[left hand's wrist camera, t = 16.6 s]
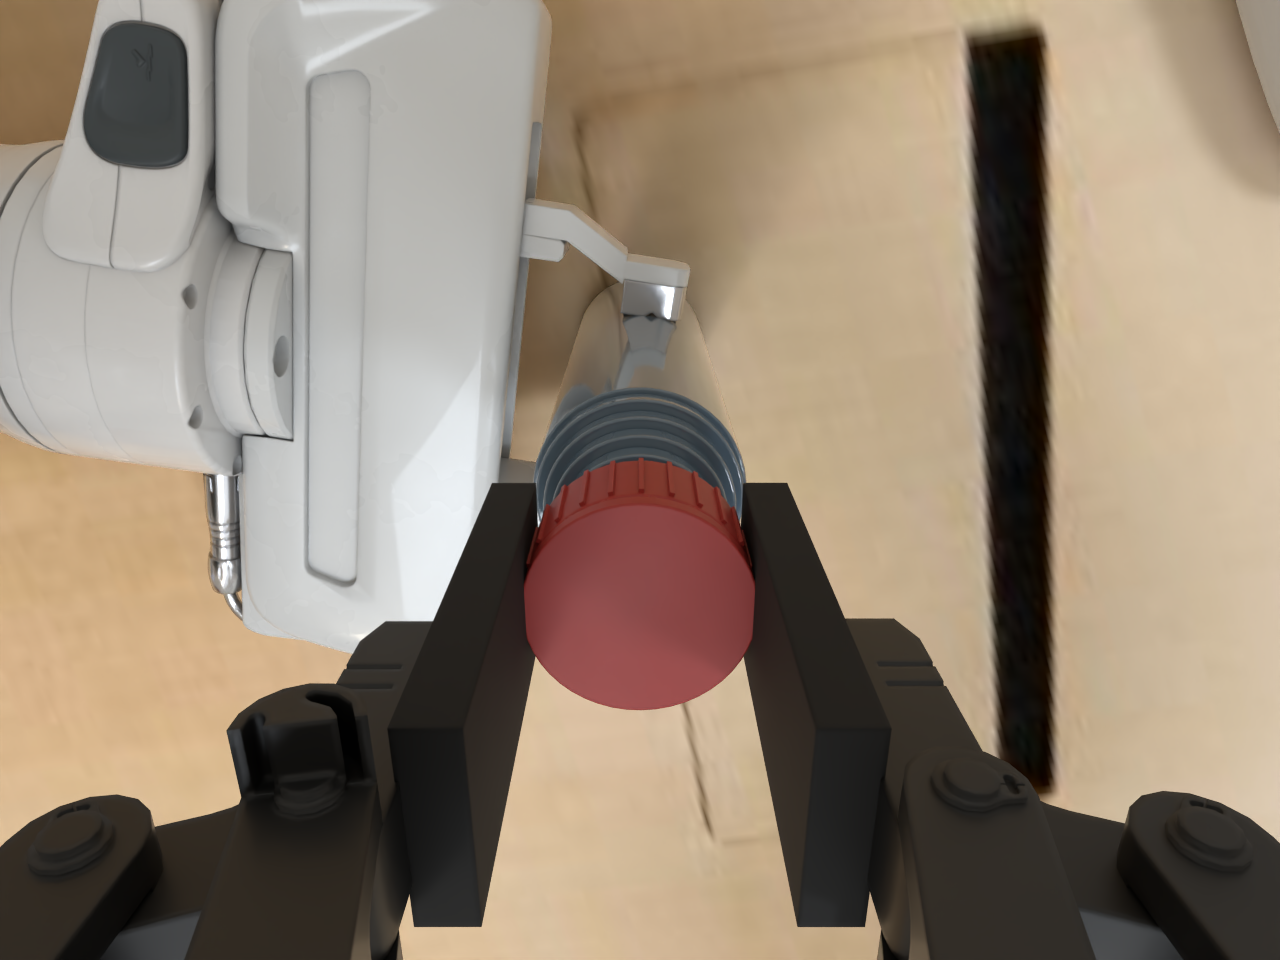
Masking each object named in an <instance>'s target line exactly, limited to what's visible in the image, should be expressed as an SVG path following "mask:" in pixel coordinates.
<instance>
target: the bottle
mask: <svg viewBox="0 0 1280 960" xmlns="http://www.w3.org/2000/svg"><path fill="white" fill-rule="evenodd" d="M623 286H624V281H623V284H621V283H620V282H618V283H616V284H613V285H611V286H609V287H608V288H606V289H605V290H603V291H602V292H601V293H600V294H598V295H597V296H596V297H595V299H594V300H593V301H592V302H591V303H590V305H589V306H588V308H587V310H586V312H585V313H584V316H583V318H582V321H581V324H580V327H579V330H578V333H577V337H576V340H575V343H574V346H573V349H572V352H571V355H570V358H569V361H568V365H567V368H566V371H565V374H564V377H563V380H562V383H561V386H560V390H559V393H558V396H557V399H556V402H555V405H554V408H553V411H552V414H551V418H550V421H549V424H548V427H547V430H546V433H545V436H544V439H543V442H542V446H541V449H540V452H539V455H538V458H537V461H536V466H535V471H534V481H533V483H536V494H537V513H538V517H539V521H540V522H541V519H542V515H543V511H544V507H545V506H546V504H548V505H550V504H551V503H552V501H553V500H554V499H555V498H556V497H557V496H558V495H559V494H560V492H561V487H562V486H563V485H566V486H568V485H569V484H571V483H572V482H573V481H575V480H576V479H578V478H580V477H581V476H583V474H584V471H586V470H589V472H591V471H593V470H595V469H597V468H600V467H603V466H606V465H609V464H610V461H614V460H615V462H616V463H619V462H625V461H639V458H644V461H654V462H660V463H667V461H669V462H672V465H673V466H676V467H679V468H682V469H684V470H687V471H689V472H691V473H693V471H695V472H697V473H698V477H700V478H701V479H703V480H705V481H706V482H707V483H708V484H710V485H711V486H712V487H713V488H715V487H716V486H717V487H718V488H719V489H720V492H721V496H722V497H723V498H724V499H725V500H726V501H727V503H728V504H729V506H730V507H733V506H734V507H735V508H736V511H737V515H738V519H739V522H740V519H741V515H742V495H743V483H746V475H745V468H744V464H743V460H742V456H741V453H740V450H739V447H738V444H737V441H736V438H735V435H734V431H733V428H732V425H731V422H730V419H729V416H728V413H727V410H726V406H725V403H724V400H723V397H722V394H721V391H720V388H719V385H718V381H717V378H716V375H715V372H714V369H713V366H712V363H711V360H710V356H709V353H708V350H707V347H706V344H705V341H704V338H703V335H702V331H701V328H700V325H699V322H698V319H697V317H696V314H695V312H694V310H693V309H692V307H691V305H690V304H689V303H688V301H687V300H686V299H685V303H684V308H683V313H682V319H681V320H680V321H668V320H664V319H660V318H657V317H656V316H655V315H654V314H653V313H650V314H648V315H646V316H635V315H628V314H622V313H620V311H621V302H622V294H623Z"/></svg>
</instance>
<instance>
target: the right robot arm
mask: <svg viewBox="0 0 1280 960" xmlns="http://www.w3.org/2000/svg"><path fill="white" fill-rule="evenodd" d="M551 37H552V19H551V15H550V13H549V11H548V9H547V8H546V6H545V4H544V2H543V1H542V0H99V1H98V5H97V9H96V13H95V18H94V22H93V27H92V31H91V36H90V41H89V45H88V50H87V54H86V59H85V63H84V67H83V72H82V76H81V80H80V84H79V88H78V92H77V97H76V101H75V104H74V108H73V112H72V116H71V119H70V123H69V127H68V130H67V134H66V137H65V140H53V141H44V142H37V143H31V144H24V145H6V144H0V433H4V434H6V435H8V436H10V437H12V438H14V439H16V440H19V441H21V442H24V443H26V444H29V445H31V446H34V447H37V448H40V449H42V450H46V451H50V452H55V453H61V454H68V455H73V456H81V457H88V458H95V459H103V460H110V461H118V462H125V463H132V464H140V465H147V466H156V467H163V468H171V469H178V470H185V471H192V472H199V473H203V475H204V491H205V508H206V517H207V522H208V526H209V532H210V540H211V542H210V545H211V551H210V552H209V555H208V573H209V578H210V582H211V585H212V588H213V590H214V591H215V592H217V593H219V594H223V595H224V597H225V600H226V602H227V604H228V606H229V607H230V609H231V610H232V611H233V613H234V614H235V615H236V616H237V617H238V618H239V619H240V620H241V621H243V624H244V625H245V627H246V628H247V629H249V630H251V631H253V632H256V633H259V634H262V635H266V636H274V637H281V638H289V639H297V640H305V641H308V642H311V643H314V644H318V645H321V646H324V647H328V648H331V649H335V650H338V651H342V652H346V653H350V654H353V653H354V651H355V649H356V647H357V645H358V644H359V642H360V641H361V640H362V639H363V638H365V637H366V636H367V635H368V634H370V633H371V632H372V631H374V630H375V629H376V628H377V627H379V626H380V625H381V624H383V623H384V622H385V621H433V620H434V618H435V615H436V613H437V611H438V608H439V606H440V604H441V601H442V599H443V597H444V594H445V592H446V589H447V587H448V585H449V582H450V580H451V578H452V575H453V573H454V571H455V568H456V566H457V564H458V561H459V559H460V557H461V554H462V552H463V550H464V547H465V545H466V543H467V540H468V538H469V536H470V533H471V531H472V529H473V526H474V524H475V522H476V519H477V517H478V515H479V512H480V510H481V508H482V505H483V503H484V500H485V498H486V496H487V493H488V491H489V489H490V486H491V484H492V483H533V481H534V471H535V466H536V462H530V461H523V460H516V459H510V454H511V444H512V433H513V423H514V413H515V403H516V393H517V383H518V372H519V362H520V352H521V342H522V332H523V322H524V312H525V301H526V291H527V281H528V271H529V261H530V258H534V259H541V260H548V261H555V262H559V261H560V260H561V259H562V258H563V257H564V256H565V254H566V253H567V251H568V250H569V244H571V245H573V246H574V247H575V248H576V249H578V250H579V251H580V252H582V253H583V254H584V255H585V256H587V257H588V258H589V259H591V260H592V261H593V262H594V263H596V264H597V265H598V266H600V267H601V268H602V269H603V270H605V271H606V272H607V273H609V274H610V275H611V276H612V277H614V278H615V279H616V280H618V281H619V282H620V283H621V284H623V281H624V286H623V294H622V302H621V311H620V313H622V314H628V315H635V316H646V315H648V314H650V313H653V314H654V315H655V316H656V317H657V318H660V319H664V320H668V321H680V320H681V319H682V313H683V308H684V303H685V297H686V292H687V285H688V280H689V274H690V267H689V264H687V263H684V262H680V261H677V260H670V259H664V258H658V257H651V256H645V255H638V254H632V253H628V248H627V247H626V246H624V245H623V244H622V243H621V242H620V241H618V240H617V239H616V238H615V237H613V236H612V235H611V234H610V233H609V232H607V231H606V230H605V229H604V228H602V227H601V226H600V225H599V224H598V223H596V222H595V221H594V220H593V219H591V218H590V217H589V216H588V215H587V214H585V213H584V212H583V211H582V210H580V209H579V208H578V207H577V206H576V205H573V204H566V203H560V202H553V201H547V200H541V199H536V190H537V180H538V169H539V159H540V149H541V139H542V129H543V119H544V109H545V98H546V88H547V78H548V68H549V58H550V47H551ZM537 514H538V513H537ZM539 525H540V521H539V517H538V527H539ZM241 590H242V601H241V600H240V598H239V596H238V593H237V592H239V591H241Z"/></svg>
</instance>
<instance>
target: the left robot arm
mask: <svg viewBox="0 0 1280 960" xmlns="http://www.w3.org/2000/svg"><path fill="white" fill-rule="evenodd" d="M536 527H538V514H537V494H536V483H492V484H491V486H490V489H489V491H488V493H487V496H486V498H485V500H484V503H483V505H482V508H481V510H480V512H479V515H478V517H477V519H476V522H475V524H474V526H473V529H472V531H471V533H470V536H469V538H468V540H467V543H466V545H465V547H464V550H463V552H462V554H461V557H460V559H459V561H458V564H457V566H456V568H455V571H454V573H453V575H452V578H451V580H450V582H449V585H448V587H447V589H446V592H445V594H444V597H443V599H442V601H441V604H440V606H439V608H438V611H437V613H436V615H435V618H434V620H433V621H385V622H384V623H383V624H381V625H380V626H379V627H377V628H376V629H375V630H374V631H372V632H371V633H370V634H368V635H367V636H366V637H365V638H363V639H362V640H361V641H360V642H359V644H358V645H357V647H356V649H355V651H354V653H353V654H352V656H351V658H350V660H349V662H348V663H347V669H344V671H343V672H342V674H341V676H340V678H339V680H338V681H337V683H336V684H311V683H310V684H305V685H300V686H295V687H290V688H285V689H282V690H280V691H277V692H275V693H273V694H270V695H268V696H266V697H263V698H261V699H259V700H257V701H256V702H254V703H253V704H252V705H250V706H249V707H247V708H246V709H245V710H243V711H242V712H241V713H239V714H238V715H237V717H236V718H235V720H234V721H233V722H232V724H231V725H230V726H229V728H228V729H227V735H228V739H229V744H230V748H231V753H232V757H233V762H234V766H235V771H236V775H237V780H238V784H239V789H240V793H241V800H240V803H239V804H238V805H236V806H234V807H232V808H229V809H225V810H222V811H219V812H216V813H212V814H209V815H204V816H200V817H196V818H191V819H187V820H183V821H178V822H174V823H170V824H165V825H161V826H157V827H155V826H154V823H153V819H152V815H151V812H150V810H149V809H148V808H147V807H146V806H145V805H144V804H143V803H142V802H141V801H139V800H138V799H135V798H130V797H126V796H121V795H107V796H96V797H88V798H85V799H82V800H79V801H76V802H72V803H69V804H66V805H63V806H60V807H58V808H56V809H54V810H52V811H50V812H48V813H46V814H44V815H42V816H41V817H39V818H37V819H35V820H33V821H31V822H30V823H28V824H27V825H26V826H25V827H23V828H22V829H21V830H20V831H18V832H17V833H16V834H15V835H13V836H12V837H11V838H10V839H8V840H7V841H6V842H5V843H4V844H3V845H2V846H1V847H0V960H403V956H402V949H401V942H400V936H399V927H400V923H401V920H402V917H403V914H404V910H405V907H406V904H407V900H408V897H409V894H410V900H411V908H412V915H413V922H414V927H482V922H483V917H484V912H485V907H486V902H487V897H488V892H489V887H490V882H491V877H492V871H493V866H494V861H495V856H496V851H497V846H498V841H499V836H500V831H501V826H502V821H503V816H504V811H505V806H506V801H507V796H508V791H509V786H510V781H511V776H512V771H513V766H514V761H515V756H516V751H517V746H518V741H519V736H520V731H521V726H522V721H523V716H524V711H525V706H526V701H527V696H528V691H529V686H530V681H531V676H532V671H533V666H534V661H535V654H534V653H533V651H532V649H531V647H530V645H529V642H528V640H527V633H526V617H525V600H524V581H525V577H526V574H527V569H528V568H527V559H528V555H529V552H530V548H531V544H532V540H533V537H534V533H535V529H536ZM741 530H743V532H744V536H745V540H746V544H747V548H748V552H749V555H750V559H751V563H752V572H753V575H754V579H755V599H754V616H753V633H752V641H751V643H750V645H749V648H748V650H747V651H746V653H745V655H744V661H745V666H746V671H747V676H748V681H749V686H750V691H751V696H752V701H753V706H754V711H755V716H756V721H757V726H758V731H759V736H760V741H761V746H762V751H763V756H764V761H765V766H766V771H767V776H768V781H769V786H770V791H771V796H772V801H773V806H774V811H775V816H776V821H777V826H778V831H779V836H780V841H781V846H782V851H783V856H784V861H785V866H786V871H787V876H788V881H789V886H790V891H791V896H792V901H793V906H794V911H795V916H796V921H797V926H798V927H865V923H866V915H867V908H868V901H869V893H871V896H872V900H873V903H874V906H875V909H876V913H877V916H878V919H879V922H880V926H881V936H880V942H879V949H878V956H877V960H1280V843H1279V842H1278V841H1277V840H1276V839H1275V838H1274V837H1273V836H1271V835H1270V834H1269V833H1268V832H1266V831H1265V830H1264V829H1263V828H1261V827H1260V826H1259V825H1258V824H1256V823H1255V822H1254V821H1253V820H1251V819H1250V818H1248V817H1246V816H1244V815H1243V814H1241V813H1239V812H1237V811H1235V810H1233V809H1231V808H1229V807H1227V806H1225V805H1223V804H1221V803H1219V802H1216V801H1213V800H1209V799H1206V798H1203V797H1200V796H1196V795H1193V794H1190V793H1179V792H1168V791H1161V792H1156V793H1152V794H1147V795H1142V796H1141V797H1140V798H1139V799H1138V800H1137V801H1135V802H1134V803H1133V804H1132V805H1131V806H1130V807H1129V811H1128V815H1127V818H1126V822H1125V823H1120V822H1116V821H1111V820H1107V819H1103V818H1098V817H1094V816H1090V815H1085V814H1081V813H1076V812H1072V811H1068V810H1065V809H1062V808H1058V807H1055V806H1052V805H1048V804H1046V803H1044V802H1042V801H1040V799H1039V796H1038V795H1037V793H1036V791H1035V790H1034V788H1033V787H1032V785H1031V783H1030V782H1029V780H1028V779H1027V778H1026V777H1025V776H1024V775H1022V774H1021V773H1020V772H1019V771H1017V770H1016V769H1015V768H1014V767H1013V766H1011V765H1010V764H1009V763H1007V762H1005V761H1003V760H1001V759H999V758H997V757H994V756H992V755H990V754H988V753H986V752H983V751H982V749H981V748H980V746H979V744H978V742H977V740H976V739H975V737H974V735H973V733H972V731H971V730H970V728H969V726H968V724H967V723H966V721H965V719H964V717H963V715H962V714H961V712H960V710H959V708H958V706H957V705H956V703H955V701H954V699H953V697H952V696H951V694H950V692H949V690H948V689H947V687H946V686H944V685H943V680H942V678H941V676H940V674H939V672H938V671H937V669H936V667H933V662H932V660H931V658H930V656H929V655H928V653H927V651H926V649H925V647H924V646H923V644H922V642H921V640H920V639H919V638H918V637H917V636H916V635H914V634H913V633H912V632H910V631H909V630H908V629H906V628H905V627H904V626H903V625H901V624H900V623H899V622H897V621H896V620H895V619H845V618H844V615H843V613H842V611H841V608H840V606H839V604H838V601H837V599H836V597H835V594H834V592H833V590H832V587H831V585H830V583H829V580H828V578H827V576H826V573H825V571H824V568H823V566H822V564H821V561H820V559H819V557H818V554H817V552H816V550H815V547H814V545H813V543H812V540H811V538H810V536H809V533H808V531H807V529H806V526H805V524H804V522H803V519H802V517H801V515H800V512H799V510H798V508H797V505H796V503H795V500H794V498H793V496H792V493H791V491H790V489H789V486H788V484H787V483H743V495H742V515H741Z"/></svg>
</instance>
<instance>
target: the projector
mask: <svg viewBox="0 0 1280 960" xmlns="http://www.w3.org/2000/svg"><path fill="white" fill-rule="evenodd" d="M1236 4H1237V8H1238V11H1239V14H1240V18H1241V21H1242V25H1243V28H1244V32H1245V35H1246V39H1247V42H1248V46H1249V49H1250V52H1251V56H1252V59H1253V62H1254V65H1255V68H1256V71H1257V74H1258V77H1259V80H1260V83H1261V86H1262V89H1263V92H1264V95H1265V98H1266V101H1267V103H1268V106H1269V108H1270V111H1271V114H1272V116H1273V119H1274V121H1275V124H1276V126H1277V129H1278V131H1279V134H1280V0H1236Z"/></svg>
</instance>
